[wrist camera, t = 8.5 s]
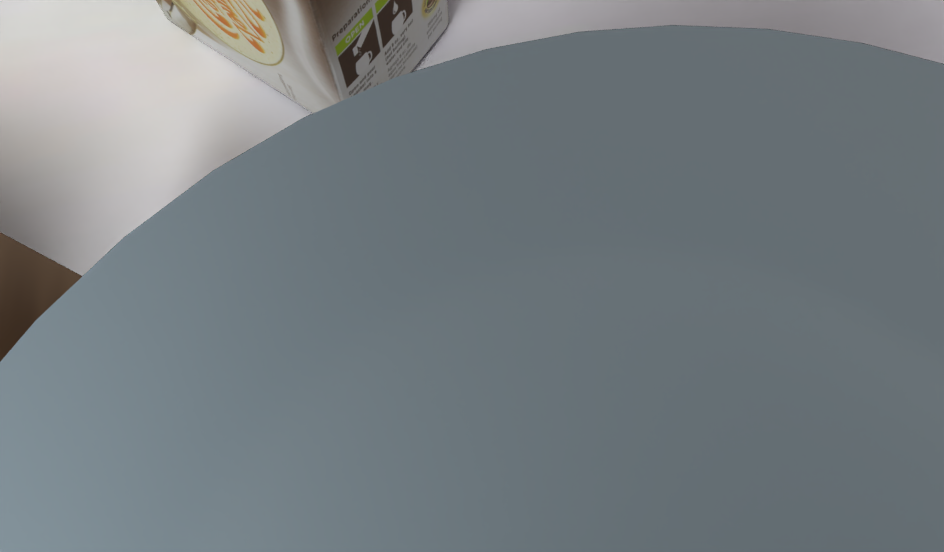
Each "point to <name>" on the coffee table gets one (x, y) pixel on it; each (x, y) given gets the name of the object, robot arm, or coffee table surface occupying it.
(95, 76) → the coffee table surface
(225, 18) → the coffee box
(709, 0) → the coffee table surface
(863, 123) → the frosted glass cup
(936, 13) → the coffee table surface
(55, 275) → the shelf
